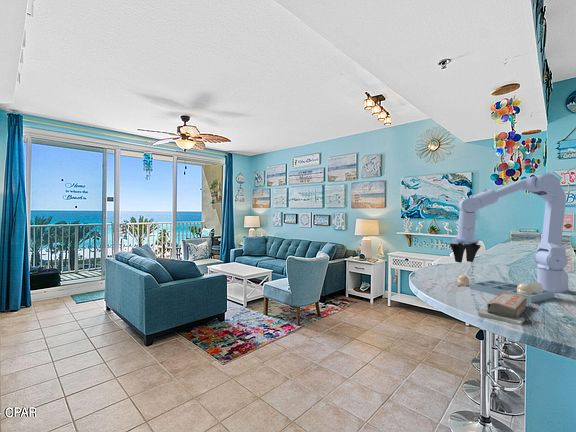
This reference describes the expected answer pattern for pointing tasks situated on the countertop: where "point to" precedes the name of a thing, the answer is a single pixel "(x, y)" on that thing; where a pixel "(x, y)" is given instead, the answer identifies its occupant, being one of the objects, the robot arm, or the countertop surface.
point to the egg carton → (508, 290)
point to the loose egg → (463, 281)
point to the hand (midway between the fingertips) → (464, 261)
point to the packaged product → (505, 308)
